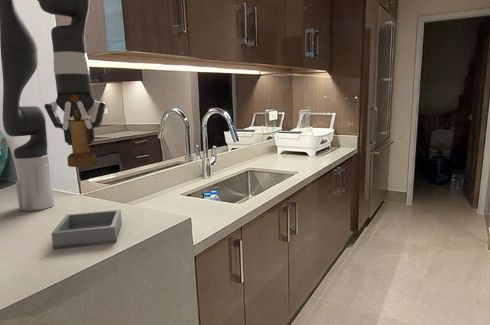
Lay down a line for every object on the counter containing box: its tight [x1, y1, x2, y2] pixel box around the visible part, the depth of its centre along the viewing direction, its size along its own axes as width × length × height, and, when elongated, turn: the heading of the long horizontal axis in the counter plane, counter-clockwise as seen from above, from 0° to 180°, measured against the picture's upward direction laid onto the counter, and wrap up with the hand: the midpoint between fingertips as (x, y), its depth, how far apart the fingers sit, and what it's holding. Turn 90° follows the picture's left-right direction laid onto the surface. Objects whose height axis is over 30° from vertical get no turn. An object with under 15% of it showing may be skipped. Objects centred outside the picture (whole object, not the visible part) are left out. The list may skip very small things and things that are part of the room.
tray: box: [51, 209, 123, 250], centre depth 89 cm, size 14×14×4 cm
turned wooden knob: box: [67, 94, 98, 168], centre depth 84 cm, size 7×6×18 cm
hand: (80, 144), depth 85 cm, fingers closed on turned wooden knob, 4 cm apart
